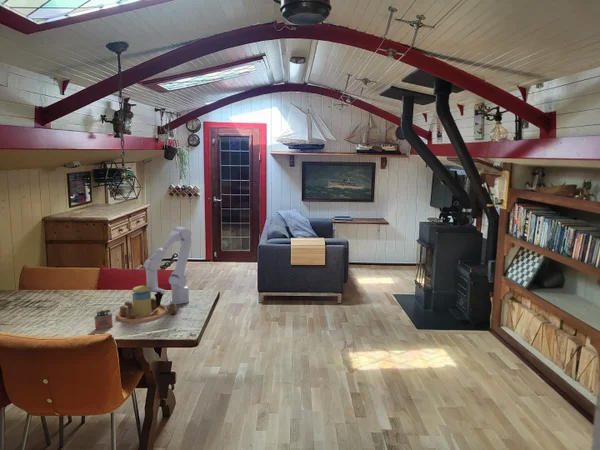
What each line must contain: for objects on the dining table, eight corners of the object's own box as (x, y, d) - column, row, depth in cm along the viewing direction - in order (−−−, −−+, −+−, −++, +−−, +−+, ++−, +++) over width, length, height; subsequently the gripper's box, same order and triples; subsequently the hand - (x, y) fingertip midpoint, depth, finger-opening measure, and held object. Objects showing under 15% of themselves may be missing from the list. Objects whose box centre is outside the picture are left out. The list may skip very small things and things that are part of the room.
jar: (150, 310, 240) (149, 284, 238) (152, 316, 232) (151, 289, 229) (133, 313, 236) (131, 286, 234) (134, 319, 228) (132, 291, 226)
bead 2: (175, 311, 238) (175, 303, 237) (177, 314, 235) (176, 305, 234) (168, 313, 236) (167, 304, 236) (169, 315, 233) (169, 306, 232)
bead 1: (156, 306, 245) (156, 297, 244) (157, 308, 241) (157, 299, 240) (149, 307, 243) (148, 298, 242) (150, 309, 239) (149, 300, 239)
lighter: (95, 332, 211) (93, 312, 209) (95, 329, 214) (93, 310, 212) (113, 329, 215) (112, 309, 213) (112, 326, 218) (111, 307, 216)
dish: (163, 304, 250) (163, 300, 250) (170, 319, 228) (169, 315, 227) (116, 310, 240) (116, 306, 240) (118, 327, 217) (117, 322, 217)
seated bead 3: (134, 317, 228) (133, 308, 227) (135, 320, 224) (134, 310, 224) (126, 318, 226) (125, 309, 226) (126, 321, 223) (126, 311, 222)
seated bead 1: (128, 314, 233) (127, 305, 232) (128, 316, 229) (128, 307, 228) (120, 315, 231) (119, 306, 230) (120, 317, 227) (120, 308, 227)
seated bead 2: (132, 309, 239) (132, 300, 239) (133, 311, 236) (132, 302, 235) (125, 310, 238) (124, 301, 237) (125, 312, 234) (124, 304, 233)
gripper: (136, 281, 238) (137, 305, 241) (158, 284, 233) (159, 308, 236) (145, 278, 245) (146, 301, 247) (166, 280, 240) (167, 304, 242)
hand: (153, 304), depth 242 cm, fingers open, 6 cm apart
